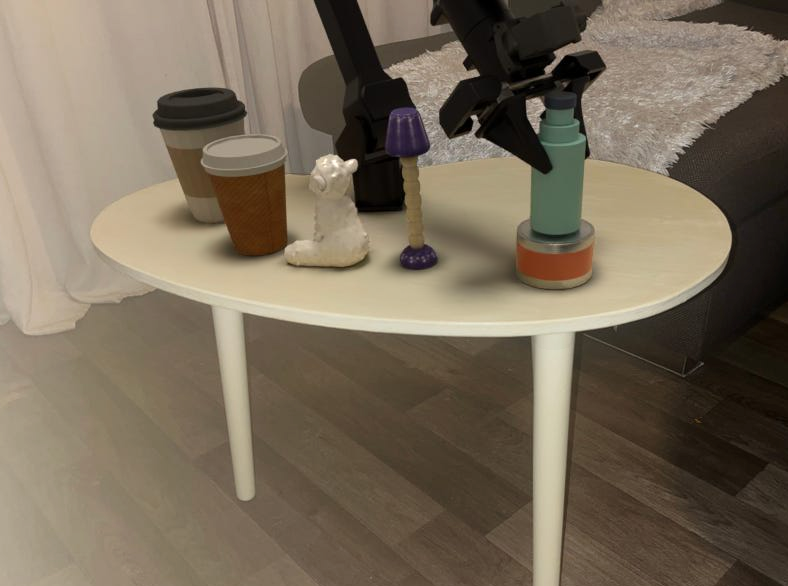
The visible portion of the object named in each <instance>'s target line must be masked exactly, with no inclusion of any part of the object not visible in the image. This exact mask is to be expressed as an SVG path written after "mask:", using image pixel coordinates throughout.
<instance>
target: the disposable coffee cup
mask: <svg viewBox="0 0 788 586" xmlns="http://www.w3.org/2000/svg"><path fill="white" fill-rule="evenodd" d="M287 157H288V150H287V149H286V148H285V147H284V145H283V141H282V139H281V138H279V137H278V136H274V135H271V134H260V133H252V134H251V133H250V134H245V135H239V136H232V137H227V138H223V139H219V140H216V141H213V142H211V143H209V144H207V145H206V146H205V147H204V148H203V158H202V159H201V165H202V166H203V167H204V168H205V171H206V172H208V175H209V177H210V180H211V183H212V186H213V189H214V192H215V195H216V198H217V200H218V203H219V206H220V209H221V212H222V215H223V217H224V220H225V222H224V223H225V226H226V229H227V231H228V235H229V237H230V240H231V243H232V246H233V248H234V251H235V252H236V253H238V254H240V255H244V256H264V255H269V254H272V253H275V252H277V251H280V250H282V249H283V248H286V247H287V245H288V220H287V192H286V190H287V189H286V186H287V185H286V161H287Z"/></svg>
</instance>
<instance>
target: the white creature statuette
mask: <svg viewBox="0 0 788 586" xmlns="http://www.w3.org/2000/svg"><path fill="white" fill-rule="evenodd" d="M357 167H358V163H357V160H356V159H351V160H348V161H345V162H344V161H343V159H341V158H340V157H338V154H335V155H334V154H333V153H329V154H327V155H323V156H320V157H319V158H318V159H316V160H315V167H314V168H313V169H312V171H311V172H310V179H309V183H308V184H309V185H308V190H309V191H311V192H312V193H314V195H315V197H316V198H317V199H316V200H315V207H314V213H315V215H314V216H313V217H314V222H315V224H314V226H313V228H314V230H315V231H314V233H313V238H314V239H313V241H311V240H310V239H304V240H299V239H297V240H295V241H294V242H293V243H289V244H287V245H286V246H285V247H284V258H285V261H286V262H287V263H289V264H291V265H294V266H297V267H299V266H305V267H327V268H329V267H335V268H346V267H351V266H354V265H356V264H359V263H360V262H361V261H363V260H364V259H365V257H366V255H367V254H368V253H369V249H370V248H371V247H370V245H369V244H370V242H371V241H370V234H369V233H368V232H367V230H366V229H365V228H364V223H363V222H362V221H361V219H360V217H359V216H358V211H357V208H356V207H355V201H353V200H352V198H351V197H350V196H349V195H347V193H346V192H347V191H348V188H349V186H350V184H351V179H352V178H351V177H352V176H351V175H352V173H353V172H355V171H356V170H357Z"/></svg>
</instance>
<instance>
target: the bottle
mask: <svg viewBox="0 0 788 586" xmlns="http://www.w3.org/2000/svg"><path fill="white" fill-rule="evenodd" d="M576 98H577V95H576V94H575V93H572V92H564V91H558V92H550V93H547V94H545V96H544V105H543V107H544V108H545V109H546V119H543V120H542V119H541V120H540V121H539V129H538V132H537V133H536V134H537V136H538V138H539V140H540V142H541V144H542V145H543V147H544V149H545V151H546V153H547V155H548V157H549V160H550V162H551V164H552V167H553V169H552V170H551V171H550V172H549V173H548V174H546V175H544V174H543V173H541V172H539V171H538V170H536V169H535V168H533V167H532V166H530V202H529V203H530V208H529V209H530V210H529V218H530V226H531V228H532V229H533V230H535V231H537V232H540V233H544V234H551V235H561V234H568V233H572V232H575V231H577V230H578V229H579V228H580V226H581V219H582V215H583V214H582V213H583V211H582V210H583V197H584V196H583V195H584V181H585V180H584V178H585V163H586V162H585V161H586V160H585V146H586V137H585V136H584V135H583V134H581V133H579V121H578V120H577V119H574V118H573V115H574V108H575V107H576Z"/></svg>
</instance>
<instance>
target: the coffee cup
mask: <svg viewBox="0 0 788 586" xmlns="http://www.w3.org/2000/svg"><path fill="white" fill-rule="evenodd" d="M236 94H237V93H236V92H235V91H234V90H233V89H230V88H226V87H196V88H188V89H182V90H176V91H173V92H169V93H166V94H164V95H162V96H160V97H159V98H158V99H157V100H156V103H157V104H156V106H157V109H156V110H155V111H154V112H153V113H152V118H153V122H152V124H153V126H154V128H158V129H159V132H160V133H161V137H162V139H163V142H164V144H165V148H166V150H167V152H168V156H169V158H170V160H171V163H172V166H173V168H174V171H175V173H176V176H177V179H178V182H179V184H180V188H181V190H182V192H183V195H184V198H185V200H186V204H187V206H188V207H189V211H190V213H191V214H192V215H193V218H194V220H196V221H198V222H200V223H205V224H208V223H209V224H217V223H218V224H219V223H225V220H224V217H223V215H222V212H221V209H220V206H219V203H218V200H217V198H216V195H215V192H214V189H213V186H212V183H211V180H210V177H209V175H208V172H206V171H205V168H204V167H203V166H202V165H201V159H202V158H203V148H204V147H205V146H206V145H207V144H209V143H211V142H213V141H216V140H219V139H223V138H227V137H232V136H239V135H246V131H245V118H246V117H247V115H248V113H249V112H247V110H246V104H244V102H243V101H241V100H238V97H237V95H236Z"/></svg>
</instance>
